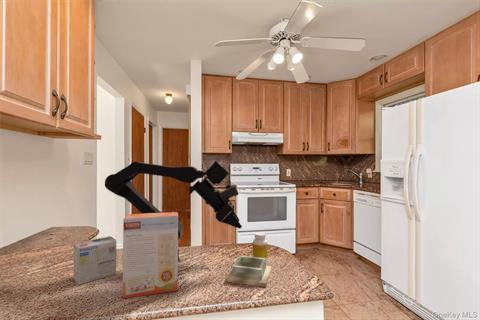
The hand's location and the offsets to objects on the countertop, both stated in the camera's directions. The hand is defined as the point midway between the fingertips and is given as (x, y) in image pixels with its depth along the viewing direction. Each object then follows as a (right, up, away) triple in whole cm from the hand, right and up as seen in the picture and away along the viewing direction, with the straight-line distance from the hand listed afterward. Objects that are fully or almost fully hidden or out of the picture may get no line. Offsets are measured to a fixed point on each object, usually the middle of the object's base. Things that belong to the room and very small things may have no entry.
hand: (239, 224), depth 88 cm
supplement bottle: (+7, -14, 0) cm, 15 cm away
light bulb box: (-45, -13, -13) cm, 48 cm away
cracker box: (-24, -13, -20) cm, 34 cm away
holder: (+3, -13, -11) cm, 17 cm away
